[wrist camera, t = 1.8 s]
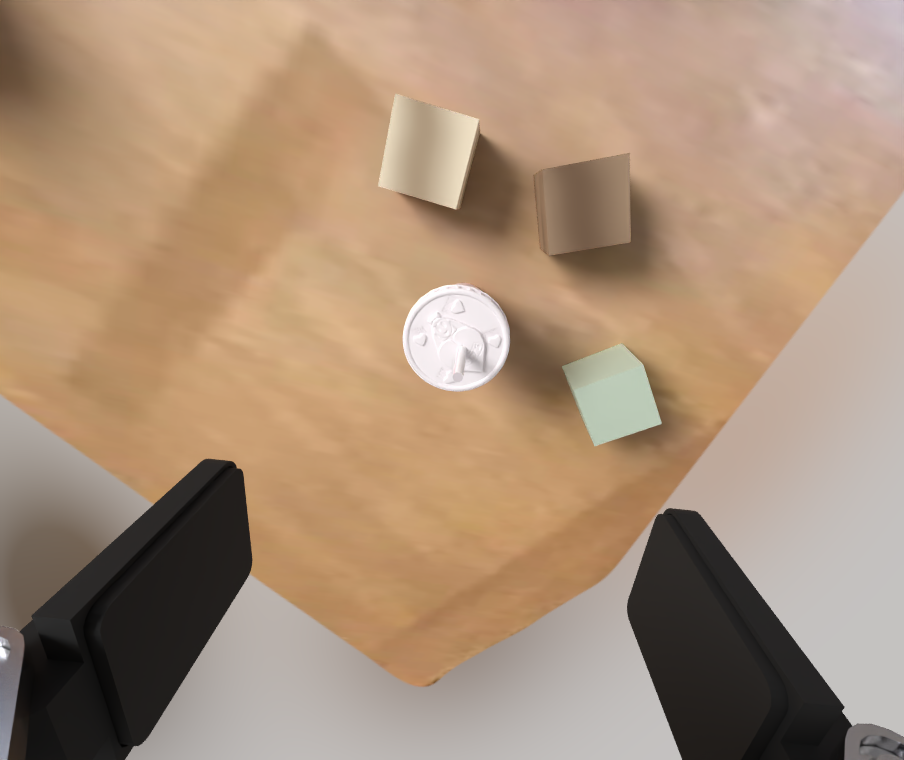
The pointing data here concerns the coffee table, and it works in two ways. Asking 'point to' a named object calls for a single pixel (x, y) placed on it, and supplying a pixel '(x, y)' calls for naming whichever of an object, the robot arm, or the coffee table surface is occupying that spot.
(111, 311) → the coffee table surface
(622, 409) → the sage painted cube
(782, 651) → the robot arm
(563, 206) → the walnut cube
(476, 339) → the smoothie
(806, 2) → the coffee table surface
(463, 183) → the maple cube
